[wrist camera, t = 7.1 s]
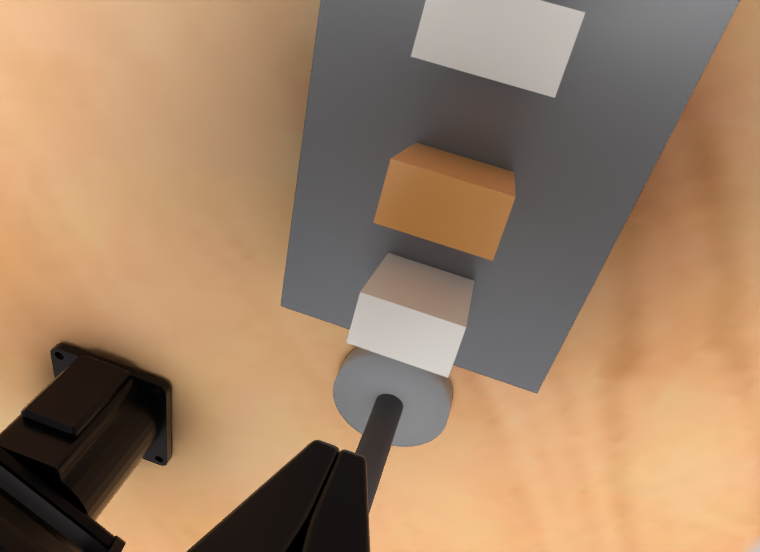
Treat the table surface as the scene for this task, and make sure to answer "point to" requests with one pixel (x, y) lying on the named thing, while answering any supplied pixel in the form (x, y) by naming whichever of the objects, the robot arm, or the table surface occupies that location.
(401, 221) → the orange rectangular block
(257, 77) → the table surface
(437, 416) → the stand
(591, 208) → the panel
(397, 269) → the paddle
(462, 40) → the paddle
